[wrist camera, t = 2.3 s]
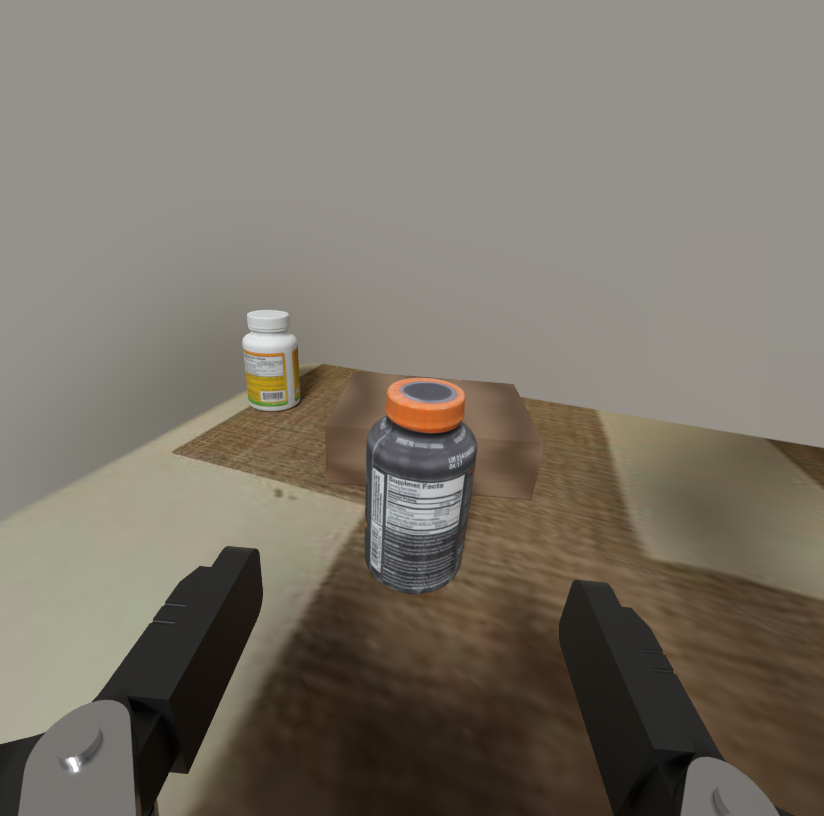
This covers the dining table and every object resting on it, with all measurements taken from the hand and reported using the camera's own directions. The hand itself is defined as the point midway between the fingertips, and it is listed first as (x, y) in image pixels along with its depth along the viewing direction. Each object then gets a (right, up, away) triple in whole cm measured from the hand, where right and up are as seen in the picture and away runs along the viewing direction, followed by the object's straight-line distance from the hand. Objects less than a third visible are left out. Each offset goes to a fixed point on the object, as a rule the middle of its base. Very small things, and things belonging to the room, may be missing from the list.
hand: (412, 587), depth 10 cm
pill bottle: (0, -5, +15) cm, 15 cm away
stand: (+2, +1, +26) cm, 26 cm away
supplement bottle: (-15, +5, +34) cm, 37 cm away
